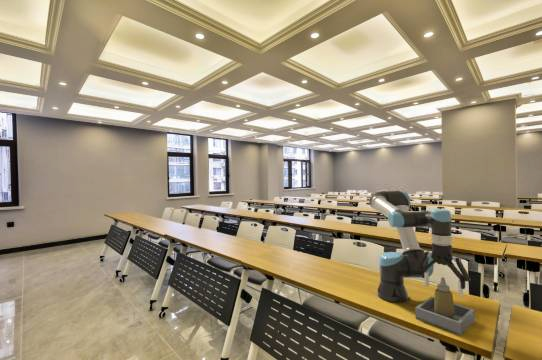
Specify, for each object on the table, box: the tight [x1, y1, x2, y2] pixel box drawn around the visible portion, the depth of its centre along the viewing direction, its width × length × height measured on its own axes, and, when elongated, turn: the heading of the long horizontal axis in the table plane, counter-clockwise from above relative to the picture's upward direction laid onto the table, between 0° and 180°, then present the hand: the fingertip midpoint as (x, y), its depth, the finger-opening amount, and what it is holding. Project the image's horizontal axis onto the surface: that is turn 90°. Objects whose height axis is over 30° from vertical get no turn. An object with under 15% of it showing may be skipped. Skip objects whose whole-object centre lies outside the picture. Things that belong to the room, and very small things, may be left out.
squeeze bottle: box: [434, 277, 455, 319], centre depth 116 cm, size 8×8×18 cm
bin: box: [414, 296, 476, 337], centre depth 116 cm, size 17×17×5 cm
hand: (443, 290), depth 116 cm, fingers open, 13 cm apart
